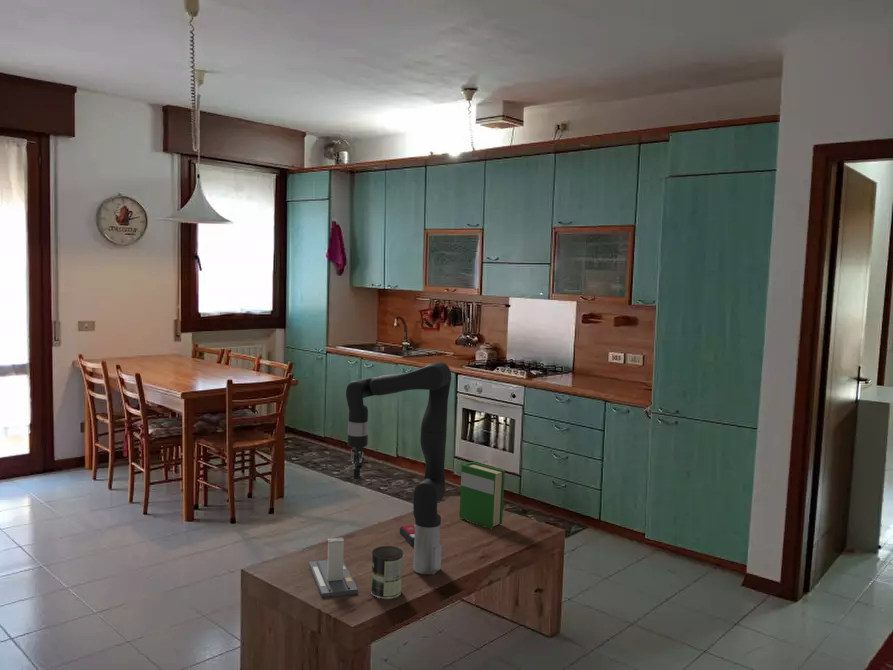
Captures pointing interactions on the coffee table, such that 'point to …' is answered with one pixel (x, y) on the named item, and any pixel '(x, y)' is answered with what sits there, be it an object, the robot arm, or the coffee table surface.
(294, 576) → the coffee table surface
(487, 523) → the hardback book
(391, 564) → the coffee can
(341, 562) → the switch tab
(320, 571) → the switch base
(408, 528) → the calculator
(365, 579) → the coffee table surface
